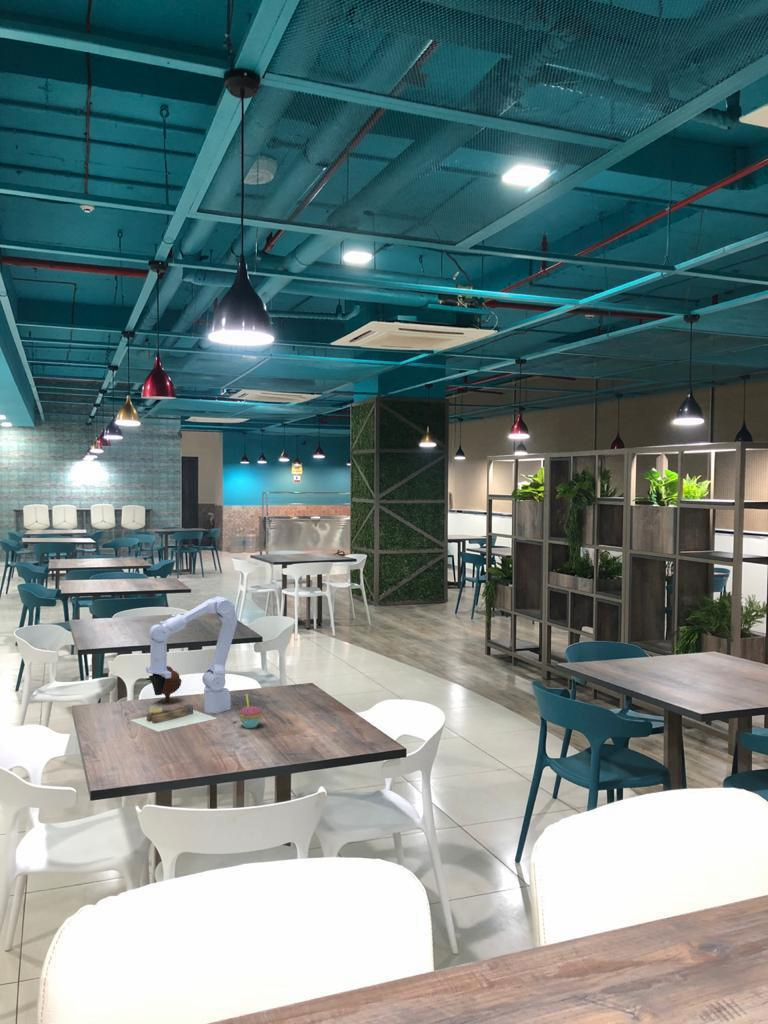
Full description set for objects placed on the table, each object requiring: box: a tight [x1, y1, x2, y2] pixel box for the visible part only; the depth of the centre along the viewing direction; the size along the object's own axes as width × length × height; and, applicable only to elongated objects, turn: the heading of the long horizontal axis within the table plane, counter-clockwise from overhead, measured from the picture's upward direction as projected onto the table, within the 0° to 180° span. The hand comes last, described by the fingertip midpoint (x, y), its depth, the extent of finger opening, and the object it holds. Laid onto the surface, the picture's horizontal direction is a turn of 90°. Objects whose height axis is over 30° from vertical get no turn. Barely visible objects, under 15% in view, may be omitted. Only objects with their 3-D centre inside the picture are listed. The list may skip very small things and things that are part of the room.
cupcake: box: [237, 692, 264, 729], centre depth 291 cm, size 9×8×12 cm
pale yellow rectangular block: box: [148, 704, 163, 714], centre depth 296 cm, size 3×4×2 cm
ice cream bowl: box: [162, 665, 182, 704], centre depth 321 cm, size 11×11×15 cm
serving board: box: [130, 709, 218, 732], centre depth 296 cm, size 24×20×1 cm
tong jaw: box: [152, 707, 188, 723], centre depth 296 cm, size 14×2×2 cm, turn 139°
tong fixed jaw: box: [146, 704, 194, 722], centre depth 299 cm, size 18×4×3 cm, turn 134°
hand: (158, 694), depth 298 cm, fingers closed
